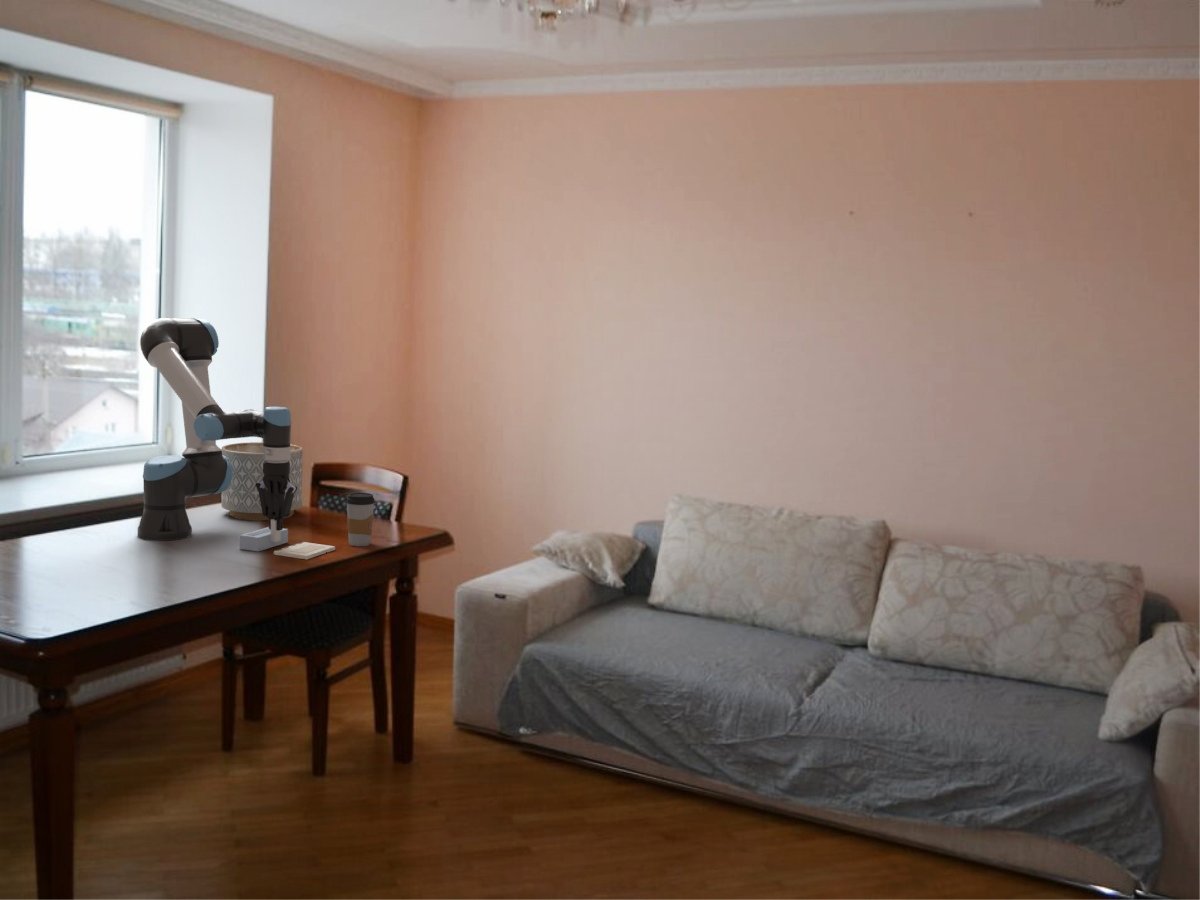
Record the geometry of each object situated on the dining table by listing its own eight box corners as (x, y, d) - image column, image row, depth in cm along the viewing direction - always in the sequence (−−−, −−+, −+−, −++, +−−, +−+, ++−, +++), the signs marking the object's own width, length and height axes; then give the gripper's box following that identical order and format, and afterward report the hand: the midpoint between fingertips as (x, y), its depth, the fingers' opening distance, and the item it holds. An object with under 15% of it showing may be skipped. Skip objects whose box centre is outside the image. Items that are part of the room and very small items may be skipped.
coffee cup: (367, 548, 336) (368, 498, 334) (340, 545, 338) (341, 496, 336) (378, 542, 344) (379, 493, 342) (352, 540, 346) (353, 491, 344)
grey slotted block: (239, 548, 327) (239, 534, 326) (269, 539, 340) (269, 526, 339) (258, 551, 325) (258, 537, 324) (287, 542, 338) (287, 528, 337)
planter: (317, 513, 383) (318, 447, 380) (266, 525, 360) (267, 455, 357) (257, 503, 393) (258, 440, 390) (204, 515, 370) (204, 447, 367)
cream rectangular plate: (273, 554, 323) (273, 550, 323) (303, 545, 336) (303, 541, 336) (306, 559, 319) (306, 555, 319) (335, 549, 332) (335, 546, 332)
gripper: (249, 460, 326) (248, 540, 330) (287, 464, 322) (286, 546, 325) (265, 456, 333) (264, 535, 337) (303, 461, 329) (302, 541, 332)
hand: (275, 540), depth 331 cm, fingers closed
